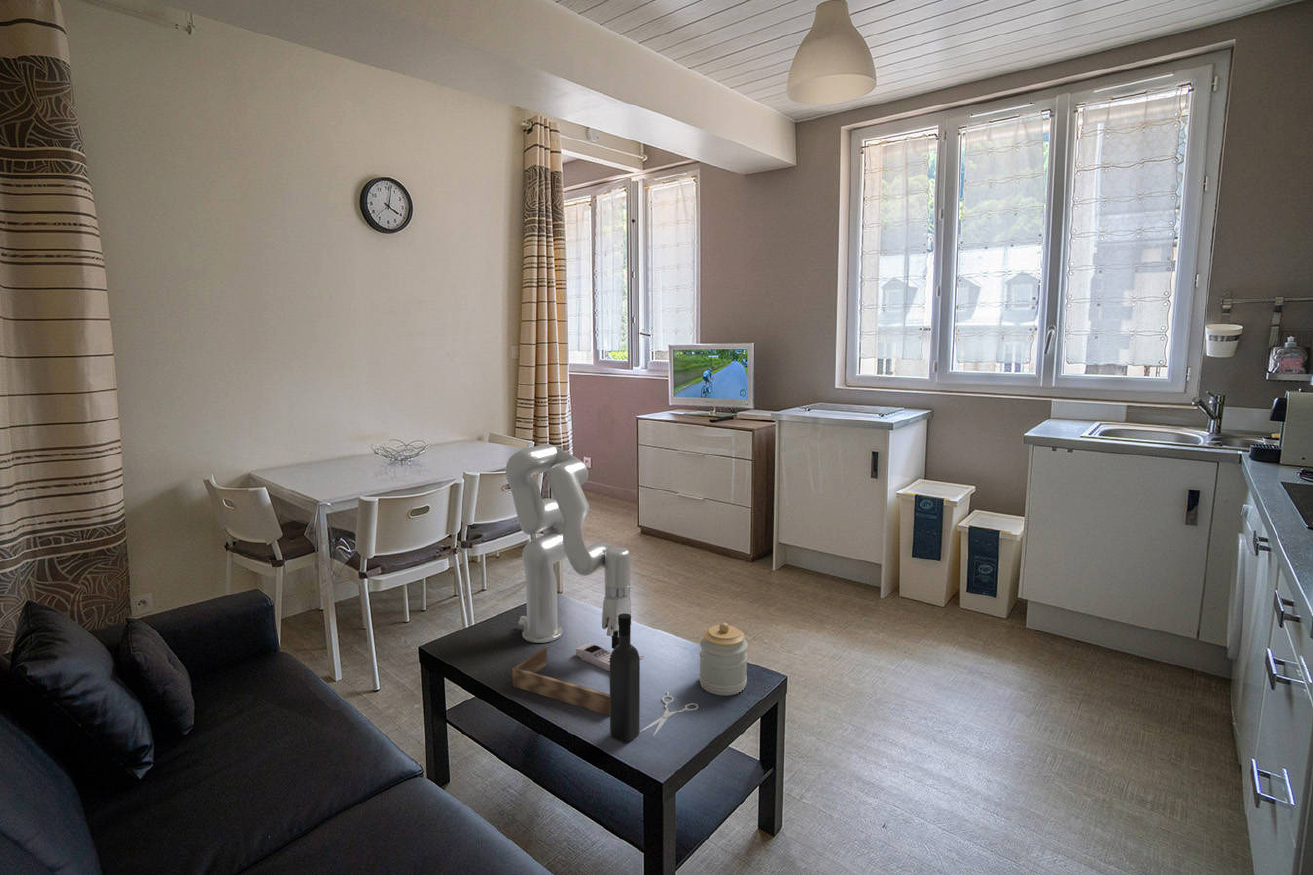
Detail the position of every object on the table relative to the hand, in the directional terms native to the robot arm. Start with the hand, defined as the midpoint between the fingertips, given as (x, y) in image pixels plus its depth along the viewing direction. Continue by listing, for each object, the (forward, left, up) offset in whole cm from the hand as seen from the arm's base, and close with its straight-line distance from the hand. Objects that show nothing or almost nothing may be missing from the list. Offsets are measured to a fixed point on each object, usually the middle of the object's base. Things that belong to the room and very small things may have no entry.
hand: (617, 648), depth 201 cm
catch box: (0, -23, -2) cm, 23 cm away
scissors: (+27, -23, -2) cm, 36 cm away
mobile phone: (0, -7, -2) cm, 8 cm away
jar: (+34, -2, -2) cm, 35 cm away
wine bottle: (+22, -35, -2) cm, 42 cm away
